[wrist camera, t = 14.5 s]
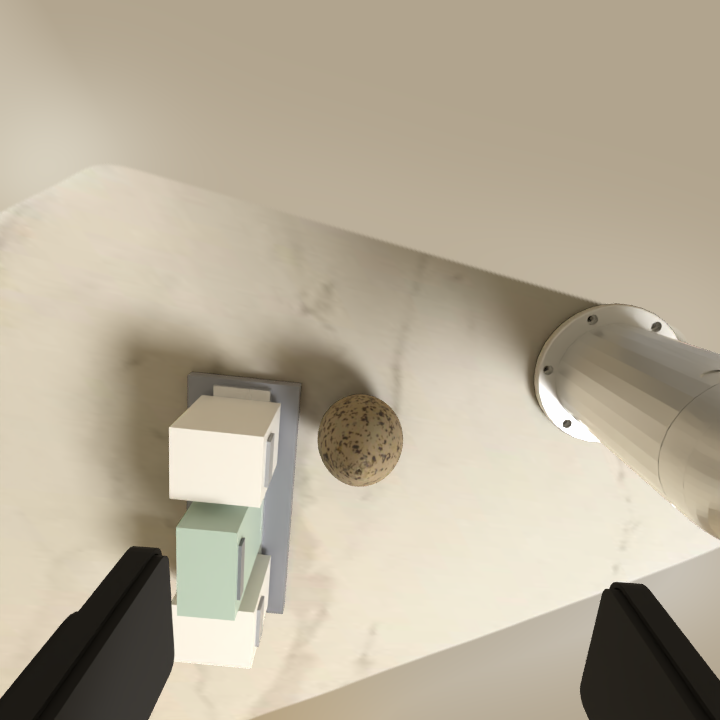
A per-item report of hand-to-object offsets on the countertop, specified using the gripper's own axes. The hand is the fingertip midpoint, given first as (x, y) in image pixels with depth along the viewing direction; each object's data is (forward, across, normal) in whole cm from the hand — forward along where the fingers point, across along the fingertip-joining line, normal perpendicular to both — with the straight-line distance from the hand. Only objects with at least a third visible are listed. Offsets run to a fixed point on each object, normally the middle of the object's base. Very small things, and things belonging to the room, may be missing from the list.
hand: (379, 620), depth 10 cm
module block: (+30, +12, +18) cm, 36 cm away
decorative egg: (+32, +1, +8) cm, 33 cm away
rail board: (+31, +12, +18) cm, 38 cm away
